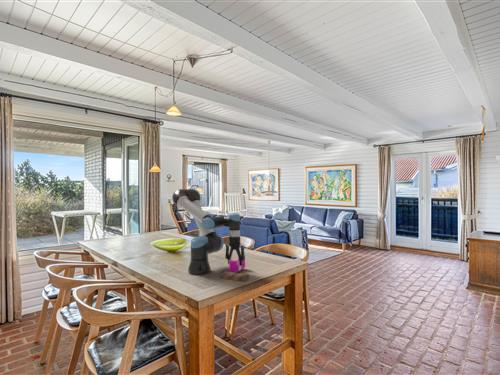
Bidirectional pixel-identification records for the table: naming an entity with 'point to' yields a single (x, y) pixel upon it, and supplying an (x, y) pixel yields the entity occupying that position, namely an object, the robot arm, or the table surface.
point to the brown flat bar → (234, 276)
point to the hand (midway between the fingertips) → (235, 269)
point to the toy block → (236, 265)
